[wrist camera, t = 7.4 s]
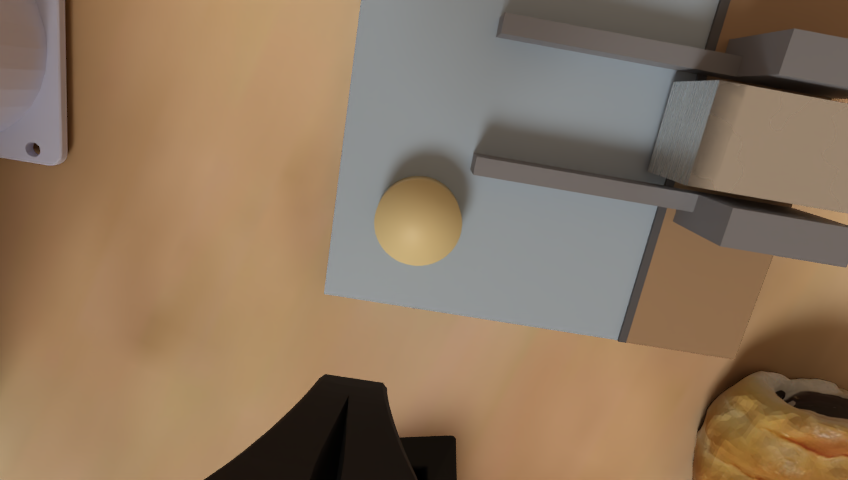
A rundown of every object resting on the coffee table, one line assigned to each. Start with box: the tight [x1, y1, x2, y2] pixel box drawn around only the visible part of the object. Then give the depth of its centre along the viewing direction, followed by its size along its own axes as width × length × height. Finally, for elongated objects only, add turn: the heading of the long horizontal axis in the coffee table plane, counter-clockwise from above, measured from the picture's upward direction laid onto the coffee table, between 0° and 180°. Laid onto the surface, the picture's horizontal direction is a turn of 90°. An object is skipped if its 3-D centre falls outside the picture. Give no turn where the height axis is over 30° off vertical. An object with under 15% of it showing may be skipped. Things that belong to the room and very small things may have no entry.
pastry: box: [692, 371, 848, 480], centre depth 21 cm, size 9×7×4 cm
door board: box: [324, 0, 848, 360], centre depth 17 cm, size 16×16×4 cm
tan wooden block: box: [648, 80, 848, 213], centre depth 16 cm, size 6×3×3 cm, turn 80°
